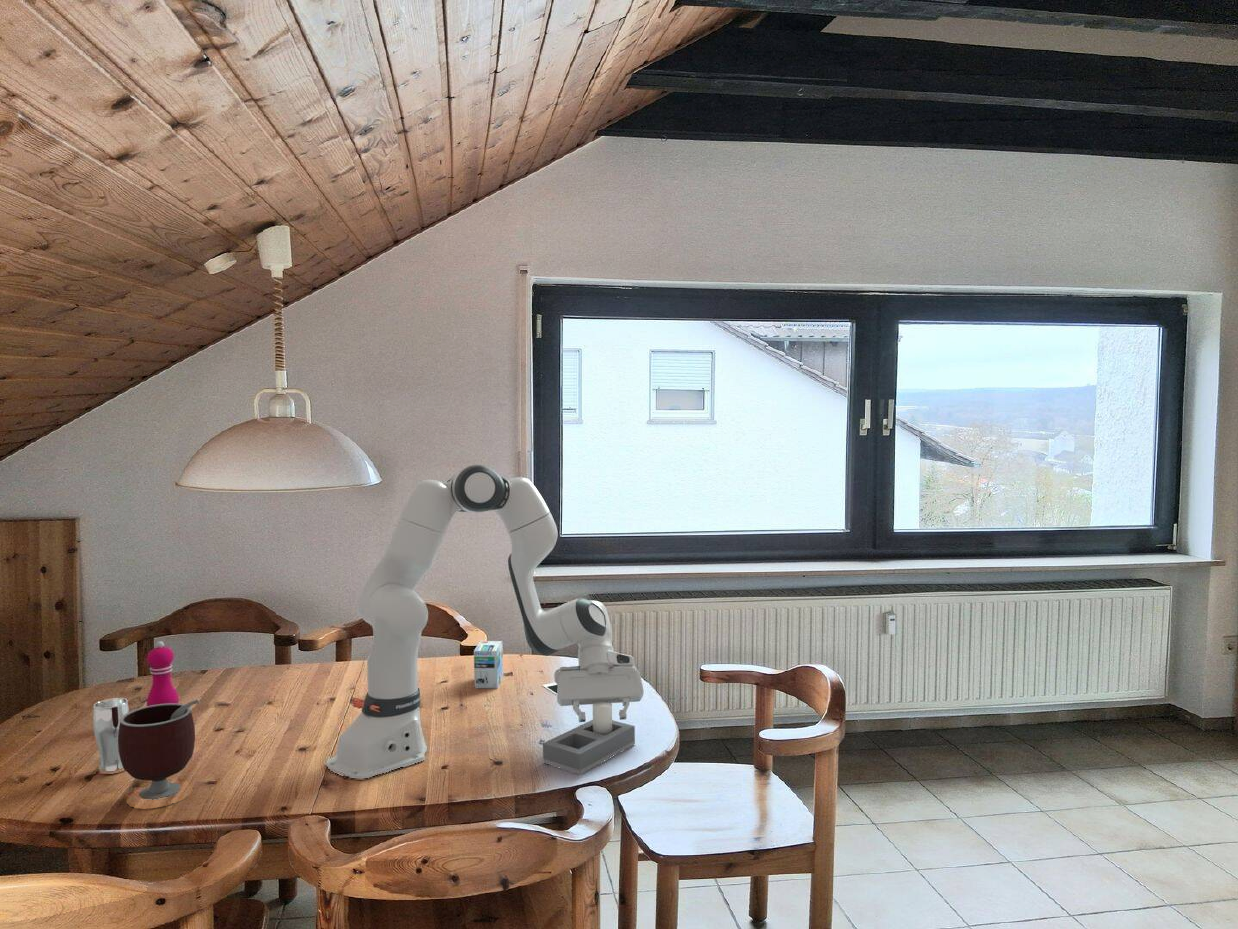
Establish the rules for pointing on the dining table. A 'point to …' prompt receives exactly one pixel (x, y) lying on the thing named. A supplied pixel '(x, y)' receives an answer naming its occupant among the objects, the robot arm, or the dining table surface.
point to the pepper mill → (161, 676)
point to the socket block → (587, 746)
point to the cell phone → (551, 687)
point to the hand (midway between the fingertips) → (602, 720)
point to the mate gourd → (157, 745)
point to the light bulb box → (488, 664)
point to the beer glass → (109, 731)
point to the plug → (602, 717)
